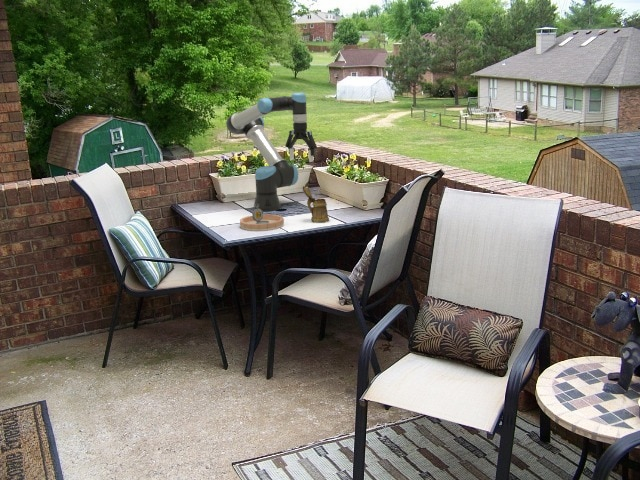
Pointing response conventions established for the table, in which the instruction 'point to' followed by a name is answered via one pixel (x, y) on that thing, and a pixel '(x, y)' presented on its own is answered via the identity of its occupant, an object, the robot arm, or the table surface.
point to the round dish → (251, 225)
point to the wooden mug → (317, 208)
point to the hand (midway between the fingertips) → (301, 160)
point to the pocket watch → (258, 214)
